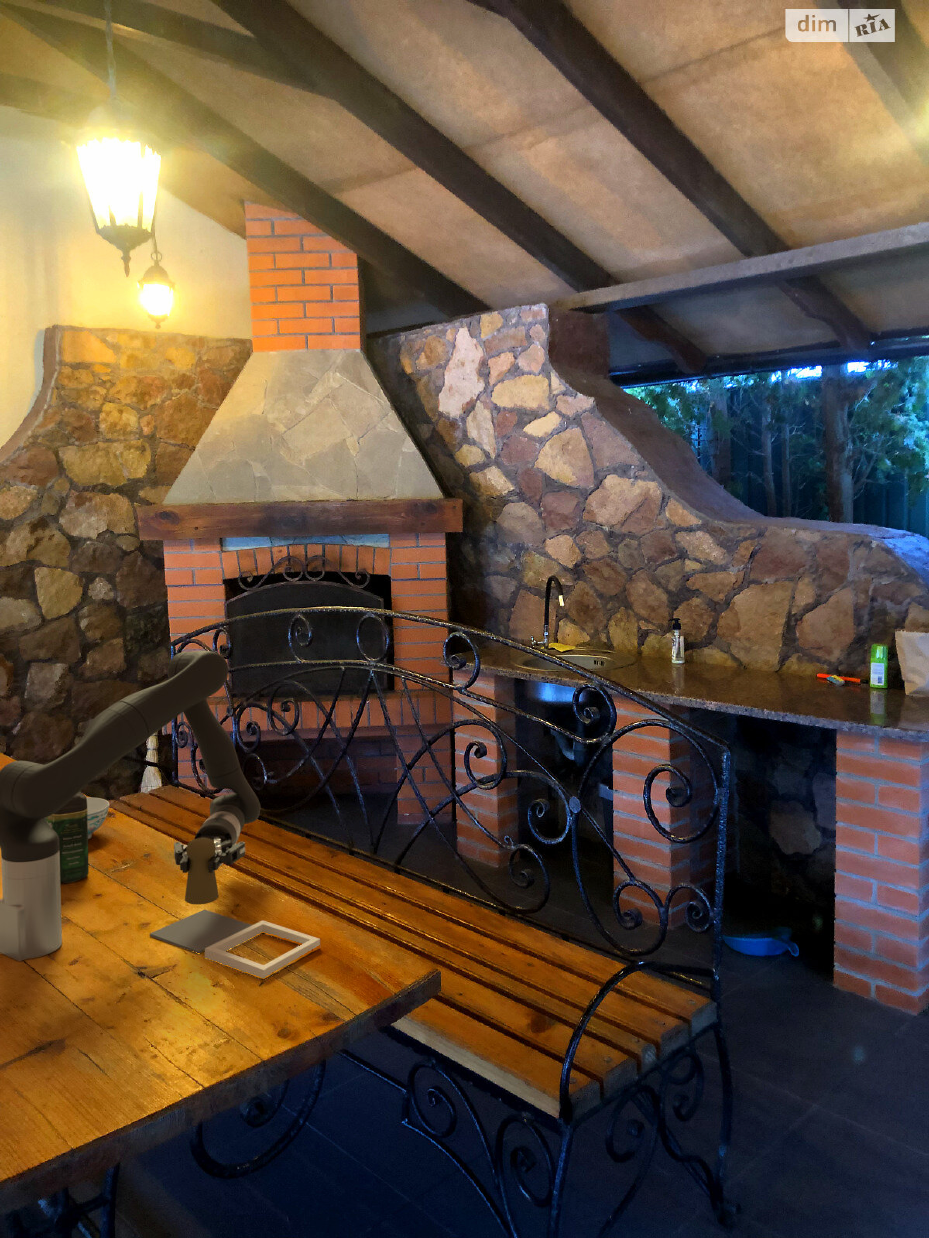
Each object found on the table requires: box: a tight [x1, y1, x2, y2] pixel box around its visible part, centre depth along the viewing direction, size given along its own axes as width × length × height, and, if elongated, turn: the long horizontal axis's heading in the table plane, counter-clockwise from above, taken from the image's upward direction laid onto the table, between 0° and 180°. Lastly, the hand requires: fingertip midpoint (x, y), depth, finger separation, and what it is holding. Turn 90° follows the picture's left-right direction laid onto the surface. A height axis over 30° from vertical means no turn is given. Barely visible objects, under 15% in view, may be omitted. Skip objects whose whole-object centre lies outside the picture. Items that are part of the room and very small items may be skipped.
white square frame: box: [204, 920, 321, 978], centre depth 162 cm, size 14×14×2 cm
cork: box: [184, 838, 220, 905], centre depth 169 cm, size 6×6×11 cm
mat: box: [149, 909, 253, 954], centre depth 170 cm, size 13×13×1 cm
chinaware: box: [45, 796, 110, 840], centre depth 220 cm, size 15×15×8 cm
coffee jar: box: [46, 791, 90, 884], centre depth 195 cm, size 10×8×19 cm
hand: (197, 867), depth 166 cm, fingers closed on cork, 4 cm apart
